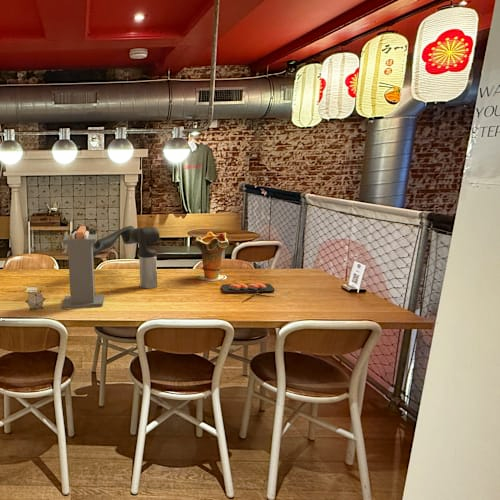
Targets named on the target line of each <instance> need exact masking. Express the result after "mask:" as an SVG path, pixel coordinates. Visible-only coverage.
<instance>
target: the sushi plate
mask: <svg viewBox="0 0 500 500" xmlns="http://www.w3.org/2000/svg"><path fill="white" fill-rule="evenodd" d="M220 288H221V290H222V292H225V293H243V294H250V297H247V298H246V299H245V300H242V301H241V303H244V302H247V301H249V300H250V299H251V298H252V297H254V296H261V297H266V298H267V297H269V298H274V296H272V295H266V294H261V293H264V292H274V291H275V288H274V287H273V285H272V284H271V283H262V282H261V283H260V282H257V283H242V282H241V283H229V284H227V283H226V284H221V286H220ZM259 293H260V294H259Z"/></svg>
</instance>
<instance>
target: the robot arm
mask: <svg viewBox="0 0 500 500" xmlns="http://www.w3.org/2000/svg"><path fill="white" fill-rule="evenodd" d="M80 226H81V225H78V226H77V227H76V228H73V230H71V232H70V235H72V234H73V233H74V232H75V231H77V230H78V229H79V228H80ZM85 226H86V231H89V235H92V234H97V238H98V237H99V232H98V231H97V230H95V229H94V228H90V227H89V226H88V225H85ZM120 236H121V239H122V241H123V244H125V245H132V244H137V245H138V254H139V256H138V258H139V287H140V288H141V289H142V288H143V289H153V288H157V287H158V270H157V264H158V263H157V251H156V250H155V249H151V248H148V247H147V245H154V244H157V243H158V242H159V240H160V237H161V236H160V232H159V229H158V228H157V227H155V226H154V227H153V226H152V227H151V226H149V227H147V226H146V227H138V228H135V227H134V226H133V225H128V226H125V227H122V228H120V229H118V230H116V231H114V232H113V233H110V234H109V235H107V236H104V237H102V238H99V239H97V241H96V244H93V259H94V258H95V257H97V255H99V254H100V253H101V252H102V253H103V251H107V250H108V249H110V248H111V247H113V246H114V245H115V243H116V241H117V240H118V238H119V237H120Z"/></svg>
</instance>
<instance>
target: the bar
mask: <svg viewBox="0 0 500 500" xmlns="http://www.w3.org/2000/svg"><path fill="white" fill-rule="evenodd" d="M79 226H80V228H79V229H78V230H77V232H76V239H83V238H84V234H85V233H86V226H87V225H85V226H84V225H79Z"/></svg>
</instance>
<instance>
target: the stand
mask: <svg viewBox="0 0 500 500" xmlns="http://www.w3.org/2000/svg"><path fill="white" fill-rule="evenodd" d="M76 232H77V231H75V232H74V233H73V234H72V235H71V234H66V235H65V236H64V238H63V239H62V245H67V256H68V257H67V258H68V259H67V261H68V275H69V292H70V293H69V294H70V295H68V296H64V298H63V301H62V303H61V305H60V309H61V310H66V309H67V308H70V309H82V308H101V307H103V306H104V298H105V295H104V293H102V294H96V292H95V291H96V288H95V269H94V268H95V267H94V265H95V263H94V258H93V244H96V241H97V240H98V237H97V234H92V235H89V231H86V233H85V234H84V238H83V239H76ZM67 310H68V309H67Z"/></svg>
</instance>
